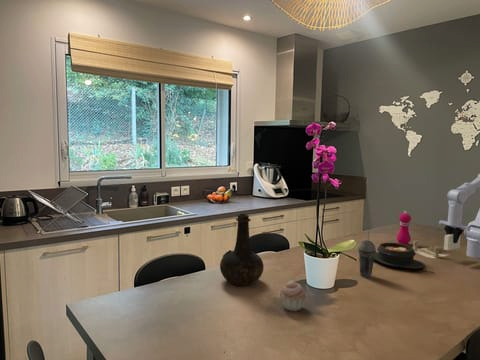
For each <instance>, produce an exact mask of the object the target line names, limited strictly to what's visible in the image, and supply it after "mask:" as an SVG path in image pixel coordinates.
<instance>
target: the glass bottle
mask: <svg viewBox="0 0 480 360" xmlns="http://www.w3.org/2000/svg"><path fill="white" fill-rule="evenodd" d="M249 217H250V215H248V214H245V213H240V214H237V218H235V220H236V221H237V229H236V239H235V246H234V249H233V250H231V249H230V250H228V251H226V252H225V253H224V254H223V255H222V258H221V260H220V263H219V269H220V270H219V271H220V273H221V275H222V277H223V278H224V279H225V280H226V281H227V282H228V283H229V284H231V285H234V286H238V287H242V286H243V287H246V286H249V285H252V284H255V282H257V281H258V280H259V279H260V278H261V276H262V274H263V273H264V262H263V260H262V258H261V256H260V255H258V254H257V253H256V252H254V251H253V249H252V245H251V239H250V227H249V226H250V225H249V224H250V223H249V222H251V221H252V219H251V218H249Z"/></svg>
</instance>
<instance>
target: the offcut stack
mask: <svg viewBox="0 0 480 360" xmlns="http://www.w3.org/2000/svg"><path fill="white" fill-rule="evenodd" d="M434 247H437V246H436V245H430V246H429V247H427V248H428V249H427V251H430V252H433V253H434ZM442 249H443V248H442V247H439V253H443V250H442Z"/></svg>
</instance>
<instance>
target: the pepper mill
mask: <svg viewBox="0 0 480 360" xmlns="http://www.w3.org/2000/svg"><path fill="white" fill-rule="evenodd" d="M398 220H399V226H400V228H399V231H398V233H397V235H396V240H397V242H396V243H399V244H404V245H408V246H410V242H411V240H412V238H411V234H410V232H409V226H410V222H411V220H412V217H411V215H410V214H409V213H408V211H407V210H404V211H403V213H400V215H399V217H398Z"/></svg>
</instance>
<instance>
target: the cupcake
mask: <svg viewBox="0 0 480 360" xmlns="http://www.w3.org/2000/svg"><path fill="white" fill-rule="evenodd" d="M279 296H280V298H281V302H282V306H283V308H284V310H286V309H287V310H286V311H288V310H290V311H289V312H299V311H301V310H302V309H303V306H304V302H305V300H306V298H307V294H306V293H305V288H303V287H302V285H301V284H299V283H297V281H296V280H295V279H292V280H290V281H288V282H287V283H286V284H285V285H284V286H283V287H282V290H281V291H280V292H279ZM298 310H299V311H298Z"/></svg>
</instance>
